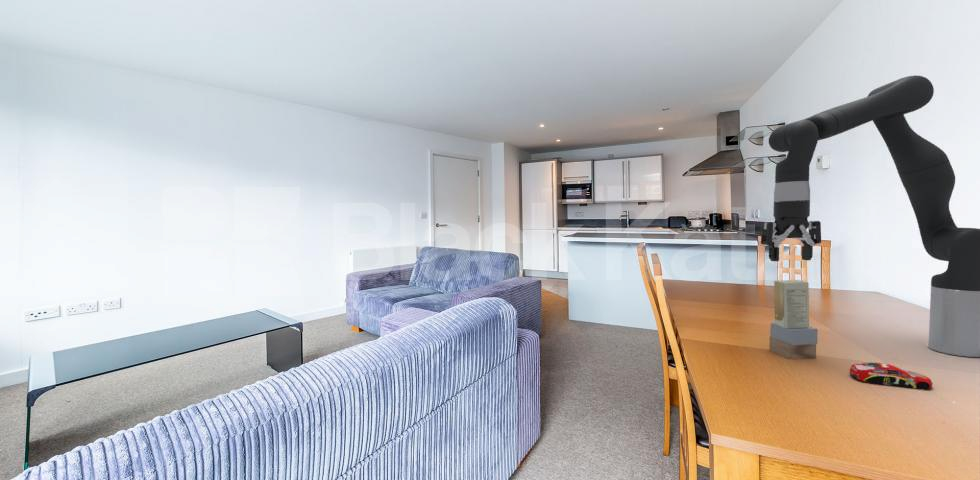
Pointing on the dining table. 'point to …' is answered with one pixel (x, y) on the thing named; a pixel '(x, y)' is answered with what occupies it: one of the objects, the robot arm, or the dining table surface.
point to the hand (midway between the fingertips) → (790, 260)
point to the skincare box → (791, 303)
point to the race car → (889, 376)
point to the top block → (794, 335)
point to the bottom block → (793, 350)
